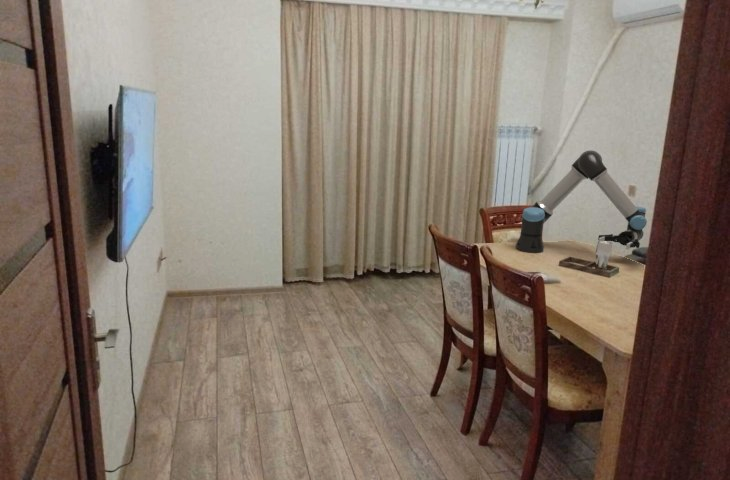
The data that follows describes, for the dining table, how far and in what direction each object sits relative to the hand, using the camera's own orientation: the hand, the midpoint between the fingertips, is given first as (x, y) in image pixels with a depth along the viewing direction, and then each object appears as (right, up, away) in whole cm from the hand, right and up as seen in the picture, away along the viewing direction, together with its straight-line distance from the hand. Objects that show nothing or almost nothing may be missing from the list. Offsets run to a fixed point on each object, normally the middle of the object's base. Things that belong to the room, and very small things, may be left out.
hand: (612, 243), depth 259 cm
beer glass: (-8, -14, -4) cm, 17 cm away
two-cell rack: (-13, -13, 0) cm, 18 cm away
